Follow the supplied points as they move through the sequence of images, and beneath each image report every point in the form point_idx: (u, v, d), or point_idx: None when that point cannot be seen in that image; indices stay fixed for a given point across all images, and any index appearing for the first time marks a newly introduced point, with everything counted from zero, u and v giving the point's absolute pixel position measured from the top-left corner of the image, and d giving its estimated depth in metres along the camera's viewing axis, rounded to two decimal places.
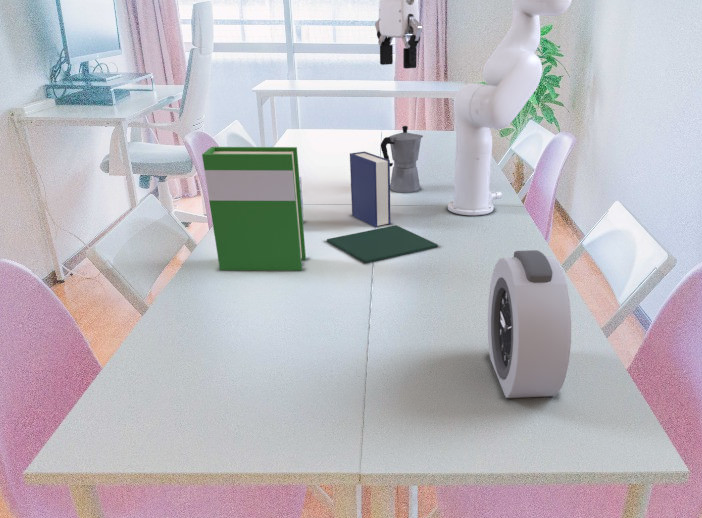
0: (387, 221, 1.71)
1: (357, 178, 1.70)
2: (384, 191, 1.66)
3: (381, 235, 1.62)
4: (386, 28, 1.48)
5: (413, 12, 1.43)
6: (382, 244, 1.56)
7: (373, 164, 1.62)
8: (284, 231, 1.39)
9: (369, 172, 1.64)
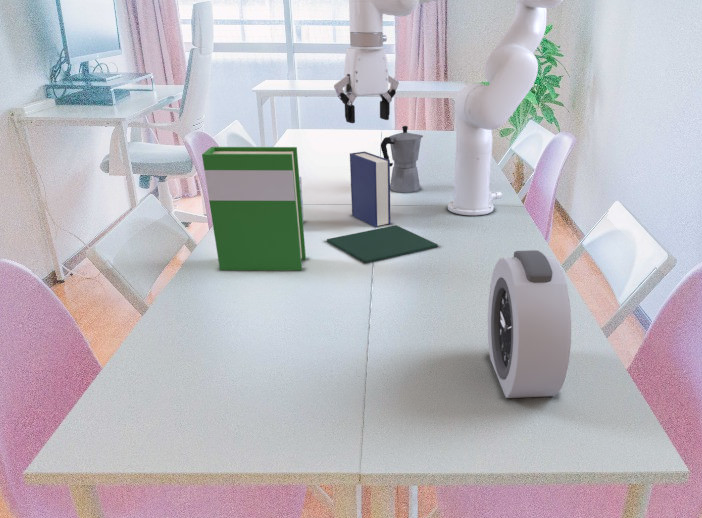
0: (387, 221, 1.71)
1: (357, 178, 1.70)
2: (384, 191, 1.66)
3: (381, 235, 1.62)
4: (367, 88, 1.55)
5: None
6: (382, 244, 1.56)
7: (373, 164, 1.62)
8: (284, 231, 1.39)
9: (369, 172, 1.64)
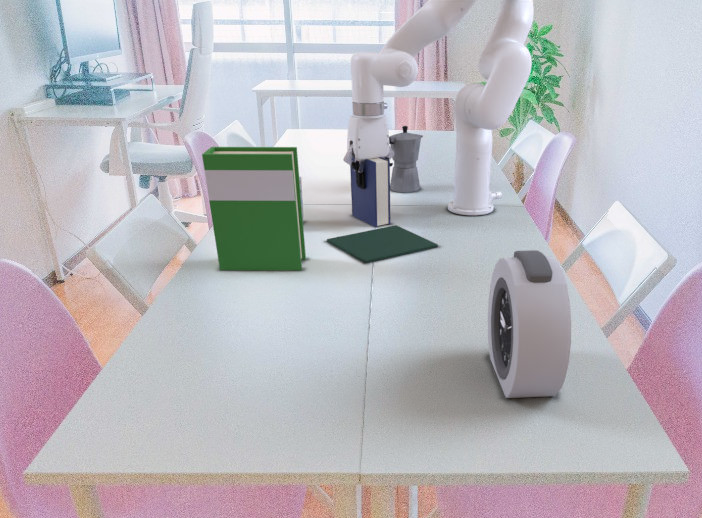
0: (387, 221, 1.71)
1: None
2: (384, 191, 1.66)
3: (381, 235, 1.62)
4: (369, 153, 1.63)
5: None
6: (382, 244, 1.56)
7: (373, 164, 1.62)
8: (284, 231, 1.39)
9: (369, 172, 1.64)
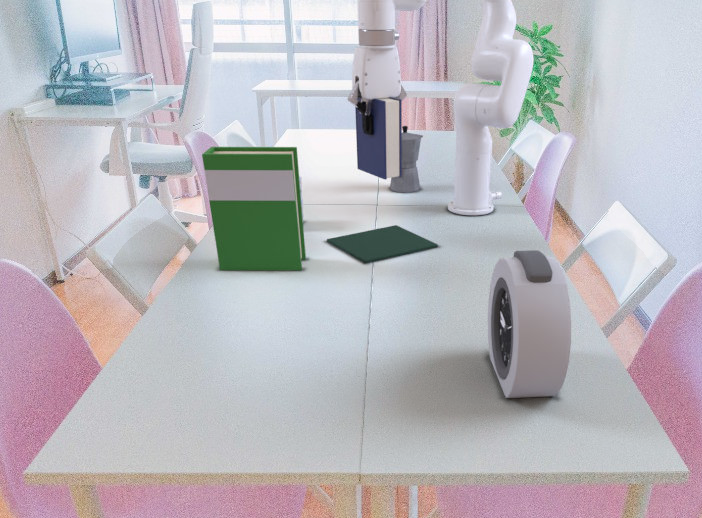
0: (398, 173, 1.48)
1: None
2: (395, 137, 1.43)
3: (381, 235, 1.62)
4: (378, 91, 1.40)
5: None
6: (382, 244, 1.56)
7: (382, 104, 1.39)
8: (284, 231, 1.39)
9: (377, 114, 1.41)
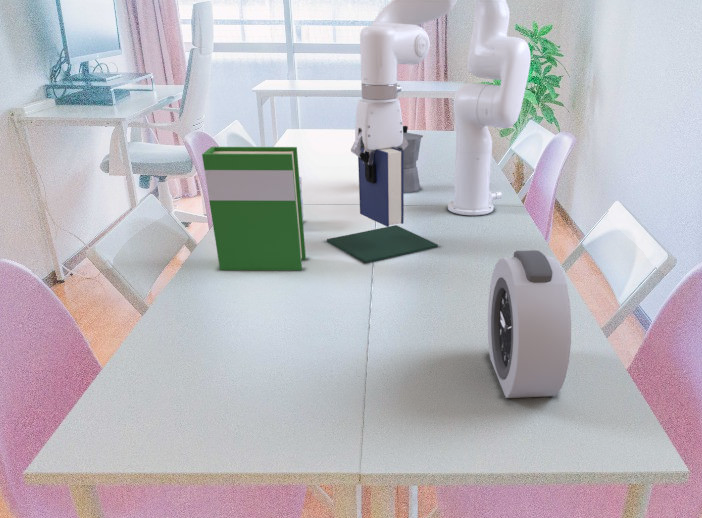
0: (400, 220, 1.51)
1: None
2: (397, 186, 1.47)
3: (381, 235, 1.62)
4: (380, 142, 1.44)
5: None
6: (382, 244, 1.56)
7: (385, 155, 1.42)
8: (284, 231, 1.39)
9: (380, 164, 1.44)
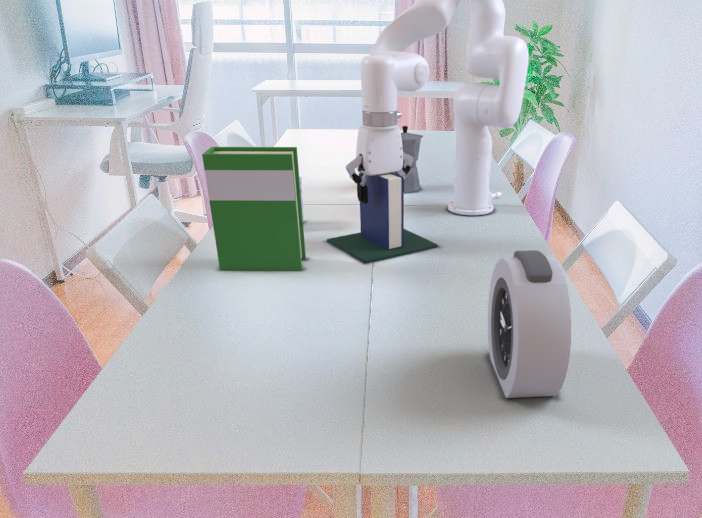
0: (400, 244, 1.54)
1: None
2: (397, 211, 1.50)
3: None
4: (381, 167, 1.46)
5: None
6: None
7: (385, 181, 1.45)
8: (284, 231, 1.39)
9: (380, 190, 1.47)
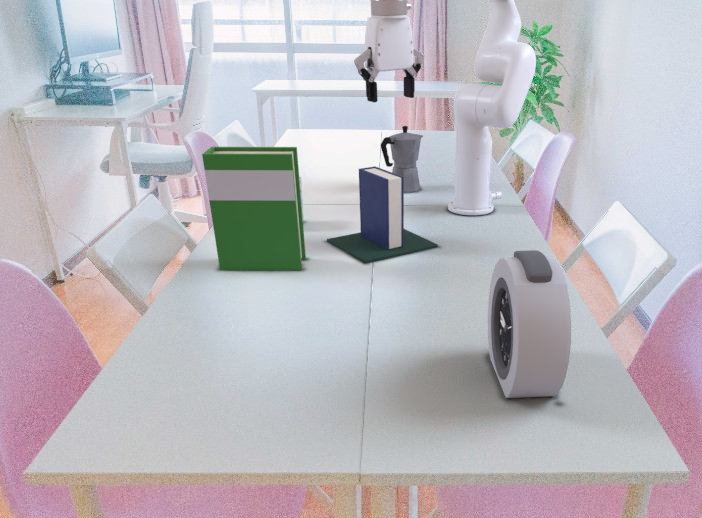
0: (400, 244, 1.54)
1: (367, 196, 1.53)
2: (397, 211, 1.50)
3: None
4: (390, 62, 1.40)
5: None
6: None
7: (385, 181, 1.45)
8: (284, 231, 1.39)
9: (380, 190, 1.47)
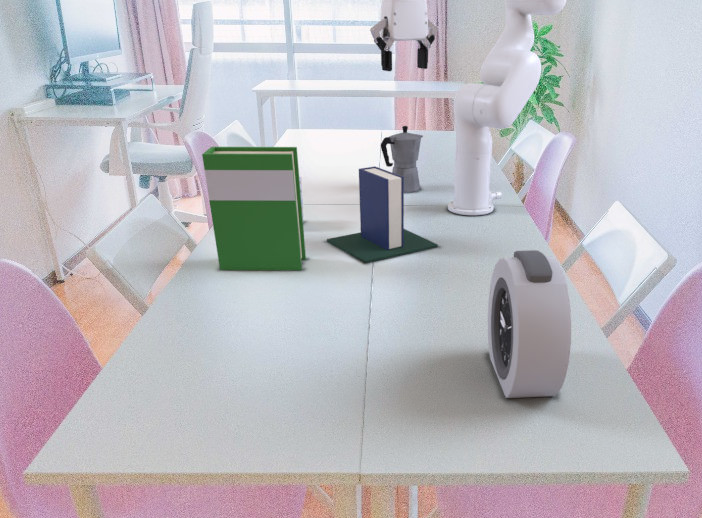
0: (400, 244, 1.54)
1: (367, 196, 1.53)
2: (397, 211, 1.50)
3: None
4: (406, 32, 1.44)
5: None
6: None
7: (385, 181, 1.45)
8: (284, 231, 1.39)
9: (380, 190, 1.47)
